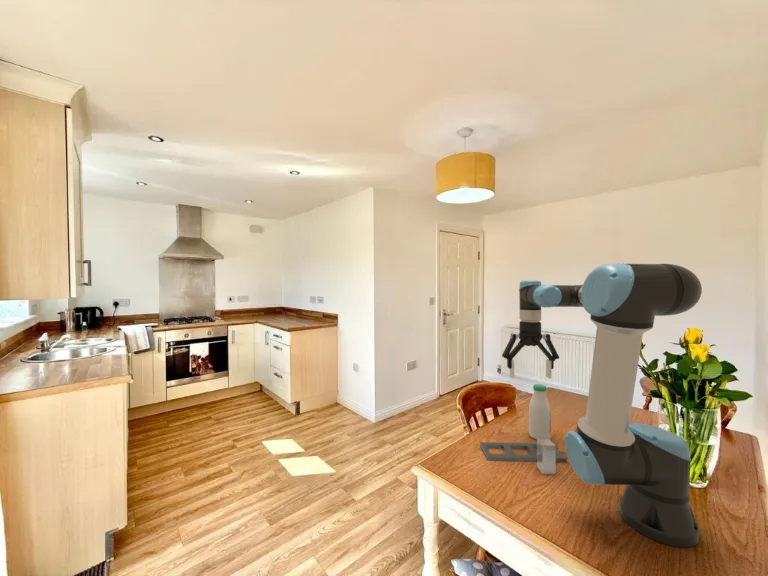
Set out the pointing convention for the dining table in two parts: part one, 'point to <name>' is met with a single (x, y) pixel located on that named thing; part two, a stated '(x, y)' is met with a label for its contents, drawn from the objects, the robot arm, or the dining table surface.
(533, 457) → the grey slotted plate
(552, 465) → the block
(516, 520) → the dining table surface
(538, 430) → the milk bottle
